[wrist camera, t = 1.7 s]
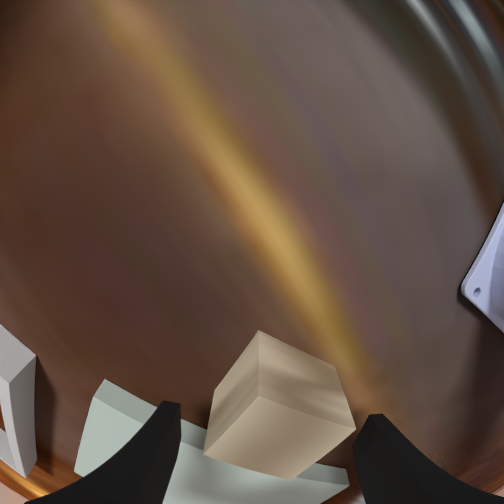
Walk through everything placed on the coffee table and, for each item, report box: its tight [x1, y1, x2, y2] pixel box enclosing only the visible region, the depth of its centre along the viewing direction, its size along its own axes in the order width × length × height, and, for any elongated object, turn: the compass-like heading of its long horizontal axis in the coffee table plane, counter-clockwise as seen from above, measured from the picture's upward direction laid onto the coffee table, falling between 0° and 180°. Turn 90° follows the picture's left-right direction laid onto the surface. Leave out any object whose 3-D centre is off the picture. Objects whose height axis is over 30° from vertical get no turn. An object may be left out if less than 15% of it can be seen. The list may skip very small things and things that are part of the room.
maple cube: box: [203, 331, 356, 480], centre depth 11 cm, size 4×4×4 cm
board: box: [74, 379, 350, 504], centre depth 14 cm, size 16×12×2 cm
